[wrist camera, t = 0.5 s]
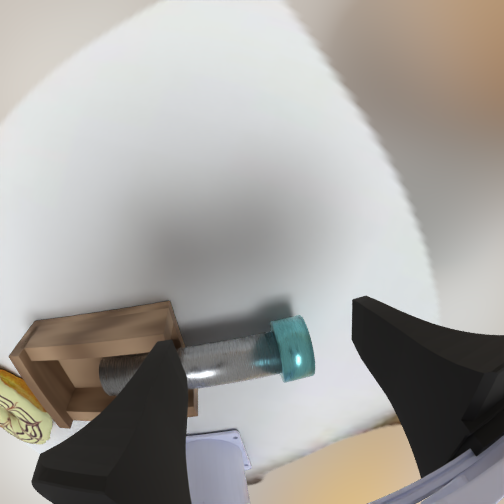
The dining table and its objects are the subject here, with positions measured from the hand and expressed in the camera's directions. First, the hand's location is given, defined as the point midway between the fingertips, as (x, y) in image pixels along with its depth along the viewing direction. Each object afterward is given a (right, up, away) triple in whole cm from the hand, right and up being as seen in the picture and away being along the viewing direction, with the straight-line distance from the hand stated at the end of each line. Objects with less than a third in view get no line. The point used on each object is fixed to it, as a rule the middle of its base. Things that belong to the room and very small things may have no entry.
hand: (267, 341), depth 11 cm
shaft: (-4, -4, +10) cm, 11 cm away
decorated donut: (-27, -13, +11) cm, 33 cm away
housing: (-12, -5, +10) cm, 16 cm away
